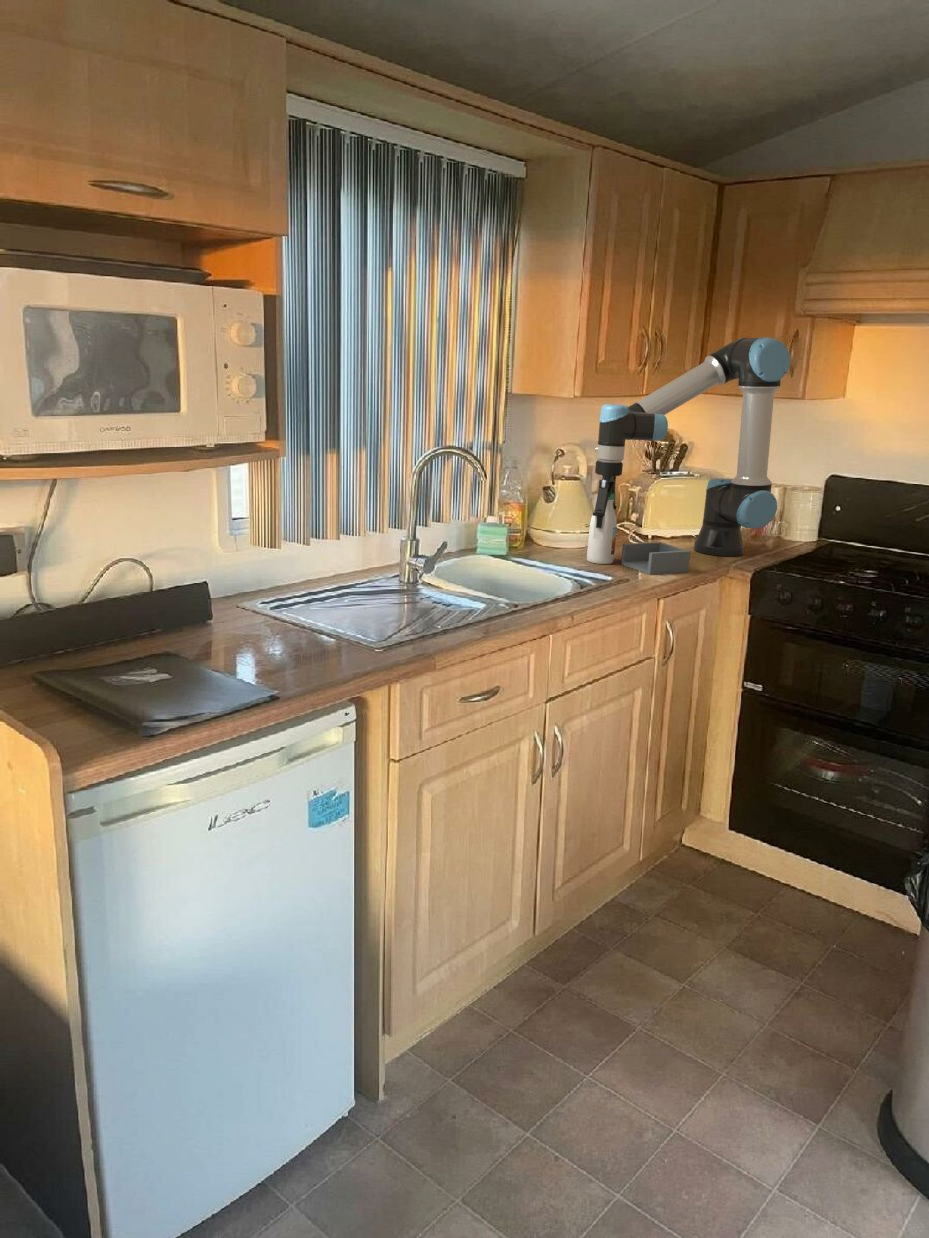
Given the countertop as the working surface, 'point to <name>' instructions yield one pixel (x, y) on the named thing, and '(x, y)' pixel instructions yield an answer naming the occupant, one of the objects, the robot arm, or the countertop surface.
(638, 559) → the tray
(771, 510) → the robot arm
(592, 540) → the milk bottle
